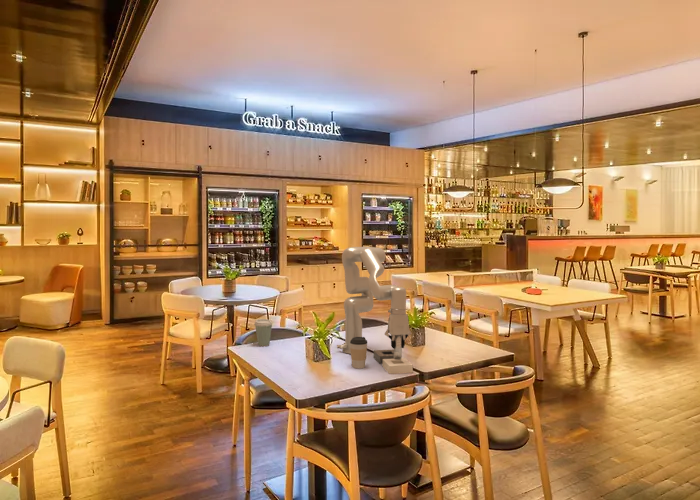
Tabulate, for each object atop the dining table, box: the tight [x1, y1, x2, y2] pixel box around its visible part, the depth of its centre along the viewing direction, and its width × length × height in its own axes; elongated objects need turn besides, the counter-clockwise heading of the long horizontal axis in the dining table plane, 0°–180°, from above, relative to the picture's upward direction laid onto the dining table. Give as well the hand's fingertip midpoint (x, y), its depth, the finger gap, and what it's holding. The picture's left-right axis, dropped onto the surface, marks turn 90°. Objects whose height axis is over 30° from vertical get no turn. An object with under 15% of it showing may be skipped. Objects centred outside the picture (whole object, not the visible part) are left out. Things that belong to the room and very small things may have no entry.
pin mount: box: [373, 348, 394, 365], centre depth 263 cm, size 12×12×4 cm
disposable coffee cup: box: [254, 318, 273, 347], centre depth 290 cm, size 11×11×15 cm
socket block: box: [381, 357, 414, 375], centre depth 246 cm, size 12×12×4 cm
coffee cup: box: [350, 336, 368, 370], centre depth 251 cm, size 9×9×15 cm
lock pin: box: [394, 335, 403, 360], centre depth 246 cm, size 4×4×12 cm
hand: (397, 347), depth 246 cm, fingers closed on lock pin, 4 cm apart
